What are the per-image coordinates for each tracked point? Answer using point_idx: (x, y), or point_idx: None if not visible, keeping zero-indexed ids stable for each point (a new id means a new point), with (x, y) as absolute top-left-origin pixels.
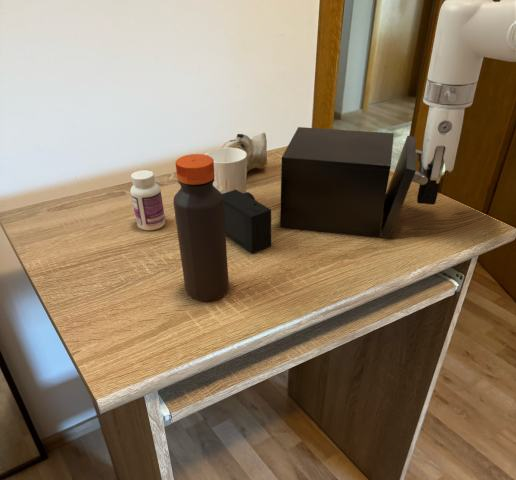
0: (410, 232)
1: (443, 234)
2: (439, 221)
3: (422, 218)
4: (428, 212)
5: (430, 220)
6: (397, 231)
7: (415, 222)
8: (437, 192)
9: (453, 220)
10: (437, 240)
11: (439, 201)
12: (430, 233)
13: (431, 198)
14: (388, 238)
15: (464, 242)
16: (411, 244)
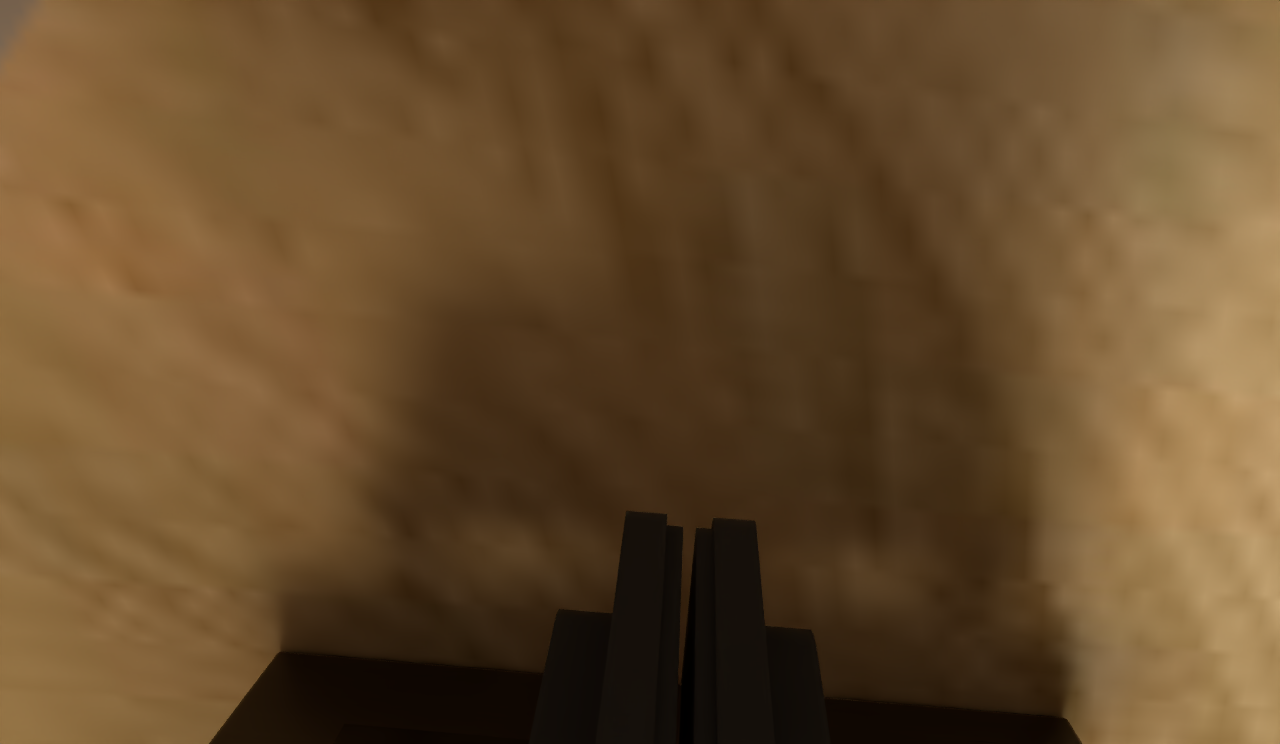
0: (936, 553)
1: (981, 246)
2: (648, 257)
3: (606, 426)
4: (441, 354)
5: (640, 351)
6: (918, 648)
7: (712, 496)
8: (761, 649)
9: (589, 80)
10: (1125, 325)
11: (91, 202)
12: (956, 380)
13: (813, 653)
14: (1067, 722)
15: (1210, 4)
16: (1186, 563)
